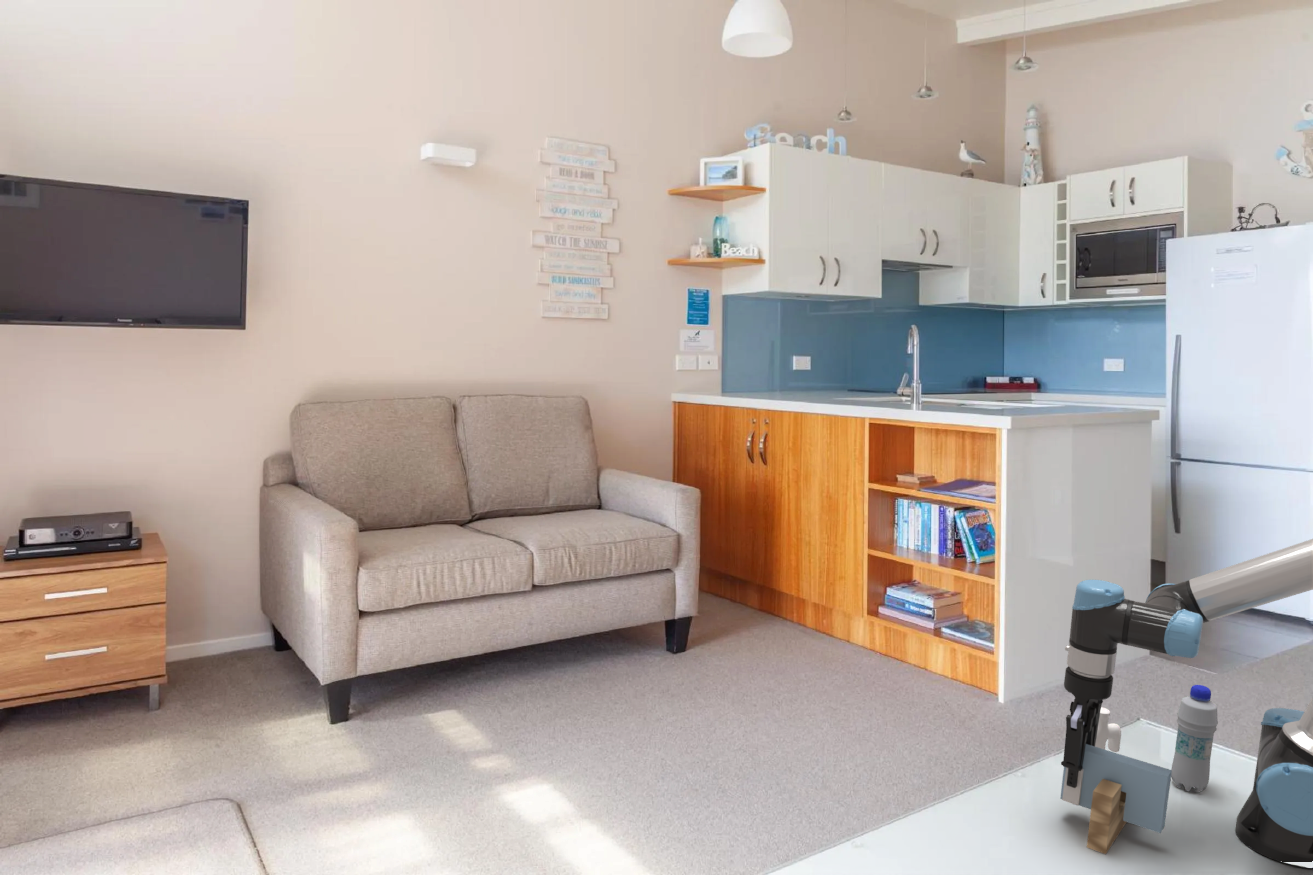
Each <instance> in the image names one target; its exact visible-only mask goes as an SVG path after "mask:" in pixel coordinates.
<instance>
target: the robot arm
mask: <svg viewBox="0 0 1313 875" xmlns="http://www.w3.org/2000/svg"><path fill="white" fill-rule="evenodd" d="M1312 590H1313V538H1312V539H1309V540H1304V541H1301V542H1299V543H1296V544H1293V545H1289V546H1287V547H1284V548H1282V549H1278V550H1276V551H1272V552H1269V553H1266V554H1263V555H1259V556H1257V557H1254V558H1251V559H1248V560H1244V561H1242V562H1238V563H1235V564H1233V565H1229V566H1227V567H1224V568H1221V569H1220V568H1219V569H1218V570H1215V571H1211V572H1208V573H1206V574H1203V575H1199V576H1196V577H1193V578H1191V579H1189V580H1185V581H1182V582H1181V581H1180V582H1178V583H1163V584H1160V585H1158V586H1156V587H1155V588H1154V589H1153V590H1152V591H1150V592H1149V594H1148V595H1147V597H1146V600H1145V602H1140V601H1134V600H1131V599H1129V598H1126V596H1125V590H1124V588H1123V587H1122V586H1120V585H1119V584H1117V583H1114V582H1110V581H1107V580H1102V579H1101V580H1100V579H1085V580H1082V581H1080V582H1079V583H1078V584H1077V585H1076V588H1075V593H1074V600H1073V604H1072V608H1071V610H1072V611H1071V612H1072V613H1071V621H1070V632H1069V640H1068V645H1066V646H1065V647H1064V650H1065V651H1066V652H1068V654H1067V658H1066V659H1067V660H1066V665H1067V667H1066V668H1065V672H1064V680H1063V681H1064V682H1063V687H1064V689H1065V690H1066V691H1067V692H1068V693H1070V694H1072V696H1074V700H1073V701H1071V702H1070V706H1069V711H1070V714H1067V715H1066V717H1065V722H1066V723H1065V725H1066V726H1065V727H1066V729H1065V738H1064V748H1063V749H1064V750H1063V760H1062V761H1061V764H1060V765H1061V766H1063V768H1064V767H1066V772H1065V781H1064V789H1063V797H1062V799H1061V800H1062V801H1064V802H1066V803H1069V804H1072V805H1075V806H1077V807H1079V806H1080V805H1079V804H1080V797H1081V789H1082V781H1083V772H1084V769H1082V768H1083V766H1082V765H1083V759H1084V753H1085V747H1086V744H1088V745H1091V746H1095V743H1096V737H1097V730H1098V723H1099V716H1100V710H1101V706H1102V704H1103V702H1104V701H1105V700H1106V699H1109V698H1110V697H1111V696H1112V692H1113V683H1114V677H1113V674H1114V673H1115V669H1116V663H1117V662H1116V660H1117V654H1118V652H1117V651H1118V644H1121V645H1125V646H1129V647H1134V648H1138V649H1142V650H1147V651H1152V652H1156V653H1159V654H1165V655H1168V656H1171V657H1180V658H1187V659H1188V658H1189V659H1194V658H1196V657H1197V656H1198V655H1199V651H1200V645H1201V639H1202V633H1203V632H1202V631H1203V625H1204V624H1205V623H1208V622H1210V621H1213V620H1214V621H1215V620H1216V619H1217V620H1218V619H1220V618H1224V617H1227V616H1230V615H1233V614H1237V613H1240V612H1243V611H1247V610H1251V609H1253V608H1257V607H1260V606H1263V605H1267V604H1270V603H1273V602H1275V601H1279V600H1283V599H1286V598H1290V597H1292V596H1296V595H1300V594H1303V593H1307V592H1309V591H1312ZM1102 707H1103V706H1102ZM1260 725H1261V729H1260V739H1259V744H1258V745H1259V746H1258V749H1257V750H1258V751H1257V757H1256V766H1255V772H1254V778H1253V779H1254V780H1253V788H1252V791H1251V792H1250V794H1249V796H1248V798H1247V799H1246V801H1245V803H1244V804H1243V806H1242V807H1241V810H1239V813H1238V814H1237V816H1236V821H1235V828H1234V831H1235V834H1236V836H1237V837H1238V839H1240V841H1241V842H1242V843H1243V844H1245V846H1246V847H1248V848H1250V849H1251V850H1253V851H1254V852H1256V853H1258V854H1260V855H1262V856H1264V857H1266V858H1268V859H1271V860H1274V861H1276V862H1279V861H1282V862H1312V861H1313V696H1312V697H1311V699H1310V701H1309V703H1308V704H1307V706H1306V708H1305V710H1304V711H1303V710H1297V709H1293V708H1284V707H1273V708H1269V709H1267V710H1266V711H1265V712H1264V714H1263V718H1262V721H1261V722H1260ZM1282 862H1281V863H1282Z"/></svg>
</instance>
